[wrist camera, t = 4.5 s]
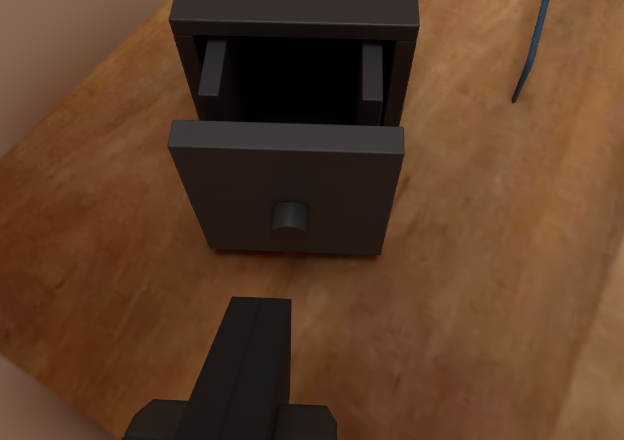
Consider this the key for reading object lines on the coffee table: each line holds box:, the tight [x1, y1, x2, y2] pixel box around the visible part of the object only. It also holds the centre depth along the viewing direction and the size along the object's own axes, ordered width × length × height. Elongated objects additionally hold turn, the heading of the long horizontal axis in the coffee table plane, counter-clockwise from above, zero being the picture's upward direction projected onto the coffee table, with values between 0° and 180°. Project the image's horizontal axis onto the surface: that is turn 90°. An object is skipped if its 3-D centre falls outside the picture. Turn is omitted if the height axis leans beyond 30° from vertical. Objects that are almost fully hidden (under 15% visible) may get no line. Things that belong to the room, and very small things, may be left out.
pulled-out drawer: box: [168, 35, 405, 255], centre depth 26 cm, size 13×8×9 cm, turn 177°
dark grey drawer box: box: [169, 0, 420, 127], centre depth 29 cm, size 13×10×11 cm
